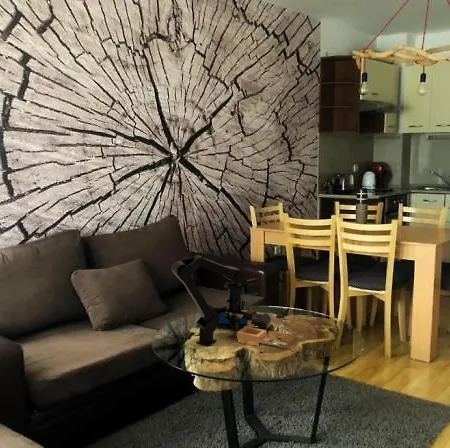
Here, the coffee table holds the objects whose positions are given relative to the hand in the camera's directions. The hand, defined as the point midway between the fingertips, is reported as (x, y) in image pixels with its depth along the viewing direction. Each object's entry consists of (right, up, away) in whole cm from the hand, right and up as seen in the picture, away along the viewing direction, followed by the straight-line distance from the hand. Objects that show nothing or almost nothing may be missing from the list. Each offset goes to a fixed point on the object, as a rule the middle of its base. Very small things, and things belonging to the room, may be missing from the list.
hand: (235, 331), depth 242 cm
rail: (+11, -4, -6) cm, 13 cm away
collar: (+7, -4, -3) cm, 9 cm away
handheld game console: (-2, -1, +15) cm, 16 cm away
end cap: (+12, -2, +9) cm, 15 cm away
